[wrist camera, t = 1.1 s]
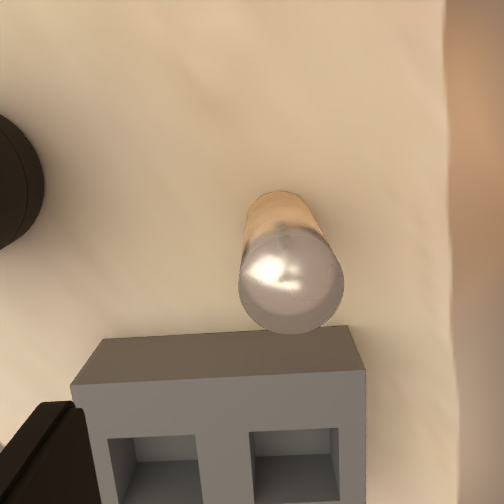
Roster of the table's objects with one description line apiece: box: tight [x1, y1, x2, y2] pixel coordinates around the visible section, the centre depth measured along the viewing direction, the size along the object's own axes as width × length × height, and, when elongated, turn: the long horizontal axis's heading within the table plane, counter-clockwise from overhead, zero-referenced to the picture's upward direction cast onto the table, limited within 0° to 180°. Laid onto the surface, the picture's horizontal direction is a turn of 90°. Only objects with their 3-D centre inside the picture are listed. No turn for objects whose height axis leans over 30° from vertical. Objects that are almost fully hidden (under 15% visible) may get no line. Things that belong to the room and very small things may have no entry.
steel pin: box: [239, 191, 344, 334], centre depth 23 cm, size 4×4×11 cm
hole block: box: [70, 326, 366, 504], centre depth 29 cm, size 12×16×6 cm
